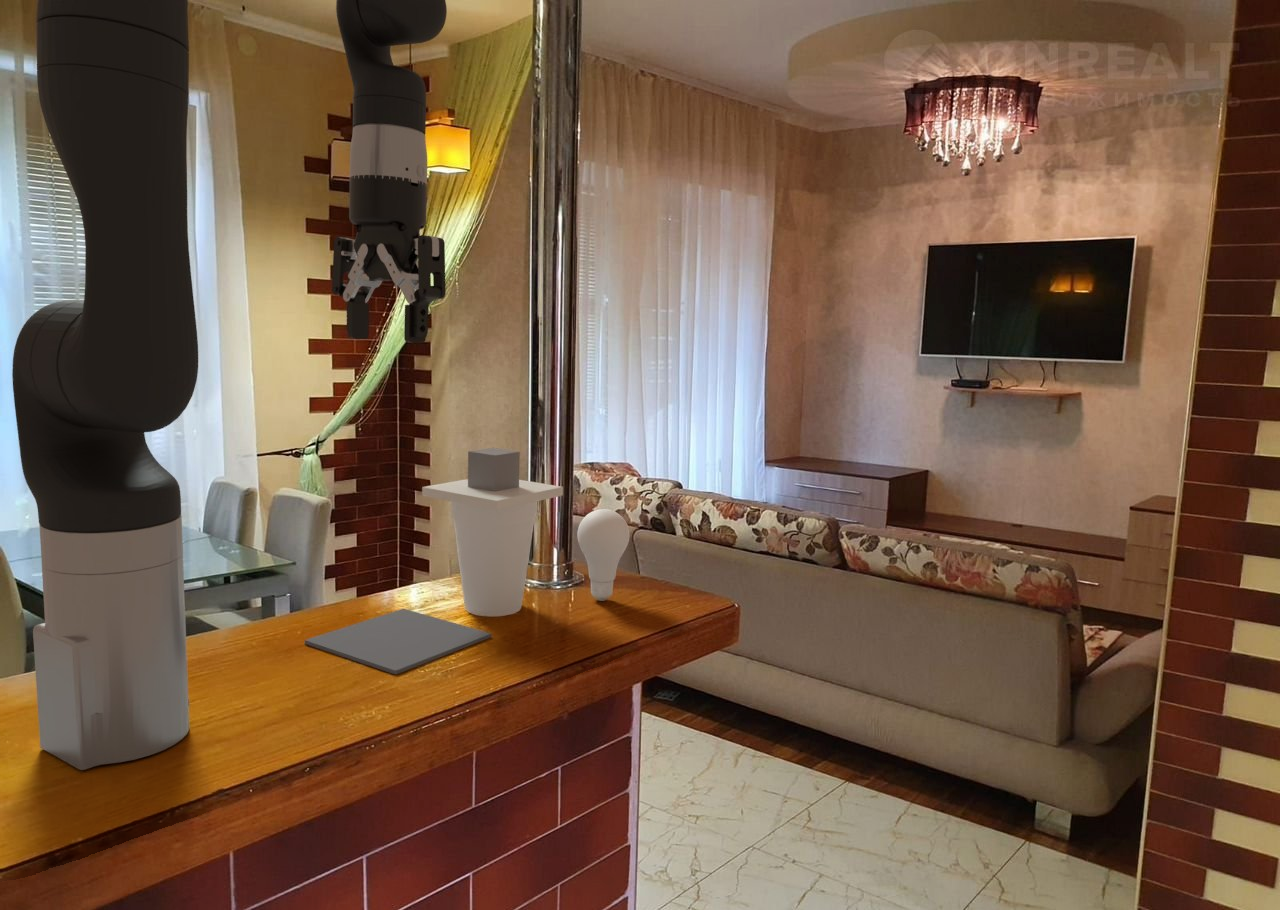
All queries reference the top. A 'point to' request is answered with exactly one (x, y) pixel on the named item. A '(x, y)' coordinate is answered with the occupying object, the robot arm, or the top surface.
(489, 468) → the cover
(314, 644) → the mat
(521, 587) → the foam cup
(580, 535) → the lightbulb
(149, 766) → the top surface
